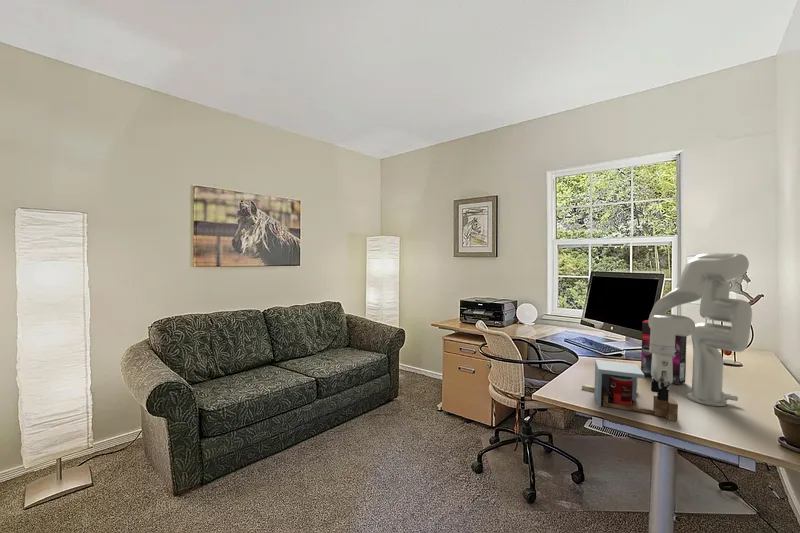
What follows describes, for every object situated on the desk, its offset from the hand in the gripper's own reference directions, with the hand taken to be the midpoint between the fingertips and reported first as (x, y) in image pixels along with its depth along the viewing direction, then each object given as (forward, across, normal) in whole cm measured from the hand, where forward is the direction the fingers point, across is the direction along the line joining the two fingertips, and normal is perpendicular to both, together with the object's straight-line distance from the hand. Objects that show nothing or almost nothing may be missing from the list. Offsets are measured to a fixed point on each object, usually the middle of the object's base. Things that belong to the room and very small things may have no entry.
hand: (659, 396), depth 136 cm
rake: (+7, +4, +6) cm, 10 cm away
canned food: (+7, +6, +11) cm, 15 cm away
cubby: (+7, +6, +12) cm, 16 cm away
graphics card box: (+6, +51, -12) cm, 53 cm away
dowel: (+7, +17, +18) cm, 26 cm away
